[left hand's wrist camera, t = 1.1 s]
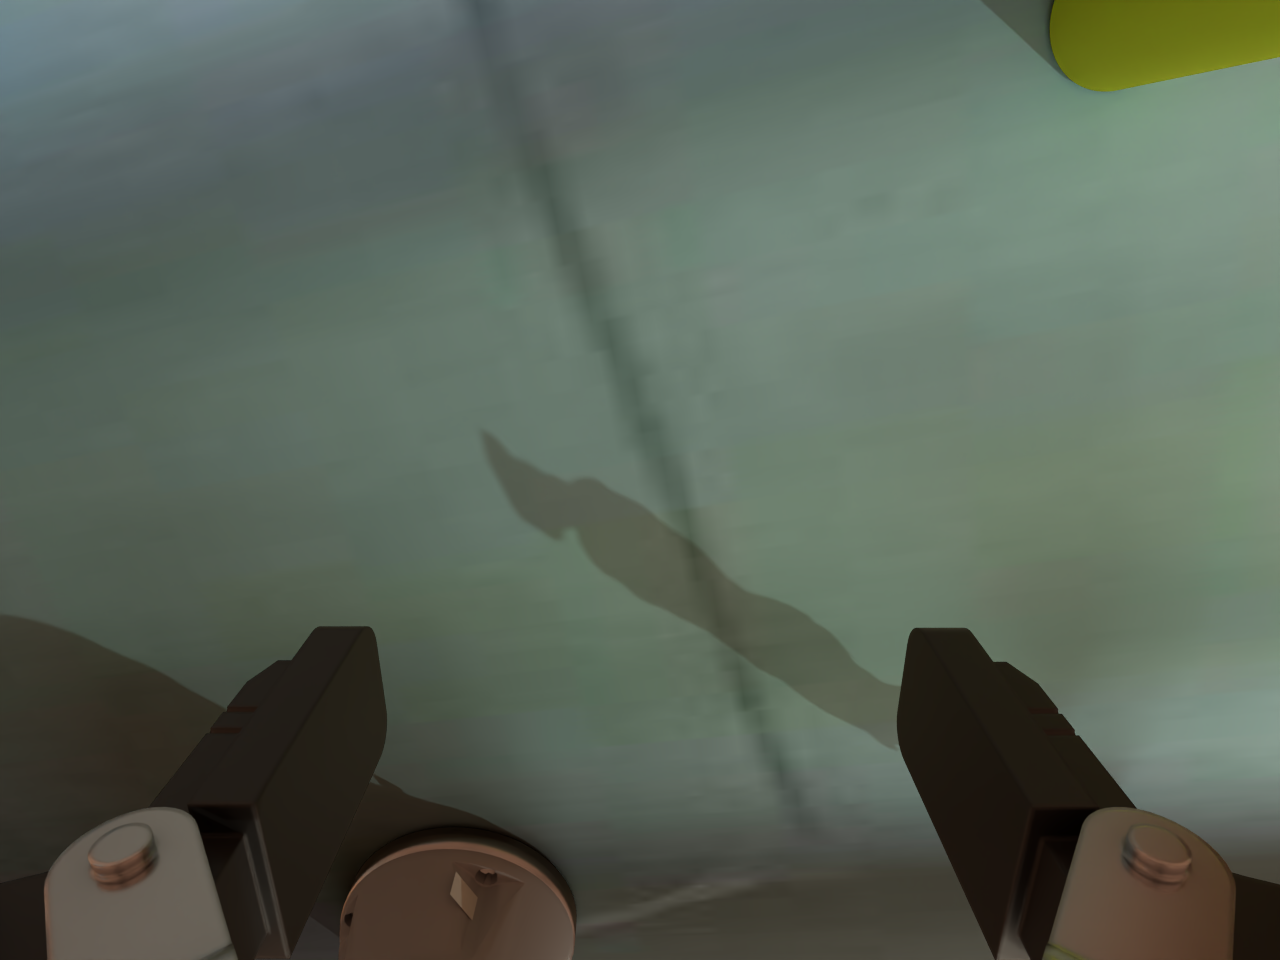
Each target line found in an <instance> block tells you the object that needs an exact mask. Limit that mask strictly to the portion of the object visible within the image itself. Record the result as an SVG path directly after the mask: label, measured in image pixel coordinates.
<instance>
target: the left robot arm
mask: <svg viewBox="0 0 1280 960" xmlns="http://www.w3.org/2000/svg"><path fill="white" fill-rule="evenodd" d="M386 730H387V712H386V704H385V697H384V691H383V684H382V677H381V670H380V663H379V656H378V649H377V642H376V637H375V634H374V632H373V630H372V628H370V627H367V626H320V627H317V628H315V629H314V630H313V632H312V633H311V634H310V636H309V637H308V638H307V640H306V641H305V642H304V644H303V645H302V647H301V648H300V649H299V651H298V652H297V654H296V655H295V656H294V658H293V659H292V660H278V661H276V662H275V663H274V664H272V665H271V666H269V667H268V668H266V669H265V670H263V671H262V672H261V673H259V674H258V675H256V676H255V677H253V678H252V679H250V680H249V681H248V682H247V683H246V684H245V685H244V686H243V688H242V689H241V690H240V691H239V693H238V694H237V695H236V697H235V698H234V699H233V700H232V702H231V703H230V704H229V705H228V707H227V712H223V713H222V714H221V716H220V717H219V718H218V719H217V721H216V722H215V723H214V725H213V726H212V727H211V732H210V734H206V735H205V736H204V737H203V739H202V740H201V741H200V742H199V744H198V745H197V746H196V748H195V749H194V750H193V751H192V753H191V754H190V755H189V756H188V758H187V759H186V760H185V762H184V763H183V764H182V765H181V767H180V768H179V769H178V771H177V772H176V773H175V774H174V776H173V777H172V778H171V779H170V781H169V782H168V783H167V785H166V786H165V787H164V788H163V790H162V791H161V792H160V793H159V795H158V796H157V797H156V799H155V800H154V801H153V802H152V804H151V805H150V806H149V807H148V808H146V809H140V810H136V811H132V812H129V813H126V814H123V815H120V816H117V817H115V818H113V819H111V820H108V821H106V822H104V823H102V824H101V825H99V826H97V827H95V828H93V829H92V830H90V831H89V832H87V833H86V834H84V835H83V836H81V837H80V838H79V839H77V840H76V841H75V842H74V843H72V844H71V845H70V846H69V847H68V848H67V849H66V850H65V851H64V852H63V853H62V854H61V855H60V856H59V857H58V859H57V860H56V861H55V862H54V864H53V865H52V867H51V869H50V870H49V871H48V872H45V873H41V874H37V875H33V876H29V877H24V878H20V879H16V880H12V881H8V882H4V883H0V960H254V959H290V957H291V955H292V953H293V950H294V948H295V946H296V944H297V942H298V939H299V937H300V935H301V933H302V930H303V928H304V926H305V924H306V922H307V919H308V917H309V915H310V913H311V910H312V908H313V906H314V904H315V902H316V899H317V897H318V895H319V893H320V890H321V888H322V886H323V884H324V882H325V879H326V877H327V875H328V873H329V870H330V868H331V866H332V864H333V862H334V859H335V857H336V855H337V853H338V850H339V848H340V846H341V844H342V842H343V839H344V837H345V835H346V833H347V830H348V828H349V826H350V824H351V822H352V819H353V817H354V815H355V813H356V810H357V808H358V806H359V804H360V802H361V799H362V797H363V795H364V793H365V790H366V788H367V786H368V784H369V782H370V779H371V777H372V775H373V773H374V770H375V768H376V766H377V764H378V762H379V759H380V757H381V754H382V751H383V748H384V744H385V738H386ZM897 733H898V741H899V746H900V750H901V753H902V756H903V759H904V761H905V763H906V765H907V768H908V770H909V772H910V774H911V776H912V779H913V781H914V783H915V785H916V787H917V790H918V792H919V794H920V796H921V798H922V801H923V803H924V805H925V807H926V809H927V812H928V814H929V816H930V818H931V820H932V823H933V825H934V827H935V829H936V831H937V834H938V836H939V838H940V840H941V842H942V844H943V847H944V849H945V851H946V853H947V855H948V858H949V860H950V862H951V864H952V866H953V869H954V871H955V873H956V875H957V877H958V880H959V882H960V884H961V886H962V888H963V891H964V893H965V895H966V897H967V899H968V902H969V904H970V906H971V908H972V910H973V913H974V915H975V917H976V919H977V921H978V923H979V926H980V928H981V930H982V932H983V934H984V937H985V939H986V941H987V943H988V945H989V948H990V950H991V952H992V954H993V956H994V959H995V960H1280V885H1279V884H1275V883H1271V882H1267V881H1263V880H1259V879H1254V878H1250V877H1246V876H1242V875H1239V874H1235V873H1232V872H1231V870H1230V869H1229V867H1228V865H1227V864H1226V862H1225V861H1224V860H1223V859H1222V857H1221V856H1220V855H1219V854H1218V853H1217V852H1216V851H1215V850H1214V849H1213V848H1212V847H1211V846H1210V845H1209V844H1208V843H1206V842H1205V841H1204V840H1203V839H1201V838H1200V837H1199V836H1197V835H1196V834H1194V833H1193V832H1191V831H1190V830H1188V829H1187V828H1185V827H1183V826H1181V825H1179V824H1178V823H1176V822H1174V821H1172V820H1169V819H1167V818H1165V817H1163V816H1160V815H1157V814H1154V813H1151V812H1148V811H1144V810H1140V809H1137V808H1136V807H1135V806H1134V804H1133V803H1132V802H1131V801H1130V799H1129V798H1128V797H1127V796H1126V794H1125V793H1124V792H1123V790H1122V789H1121V788H1120V787H1119V785H1118V784H1117V783H1116V782H1115V780H1114V779H1113V778H1112V777H1111V775H1110V774H1109V773H1108V772H1107V770H1106V769H1105V768H1104V766H1103V765H1102V764H1101V763H1100V761H1099V760H1098V759H1097V758H1096V756H1095V755H1094V754H1093V753H1092V751H1091V750H1090V749H1089V748H1088V746H1087V745H1086V744H1085V742H1084V741H1083V740H1082V739H1081V737H1080V736H1076V735H1075V730H1074V729H1073V727H1072V726H1071V725H1070V723H1069V722H1068V721H1067V720H1066V718H1065V717H1064V716H1063V715H1062V714H1059V713H1058V708H1057V707H1056V706H1055V705H1054V703H1053V702H1052V701H1051V699H1050V698H1049V697H1048V696H1047V694H1046V693H1045V692H1044V691H1043V689H1042V688H1041V687H1040V686H1039V684H1038V683H1036V682H1035V681H1033V680H1032V679H1031V678H1029V677H1028V676H1026V675H1025V674H1023V673H1022V672H1020V671H1019V670H1018V669H1016V668H1015V667H1013V666H1012V665H1010V664H1009V663H1007V662H993V661H992V660H991V658H990V657H989V655H988V654H987V653H986V651H985V650H984V649H983V647H982V646H981V645H980V643H979V642H978V640H977V639H976V638H975V636H974V635H973V634H972V632H971V631H970V630H968V629H967V628H914V629H913V630H912V631H911V633H910V635H909V639H908V644H907V650H906V657H905V664H904V671H903V678H902V684H901V691H900V698H899V705H898V712H897Z"/></svg>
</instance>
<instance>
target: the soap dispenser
mask: <svg viewBox="0 0 1280 960" xmlns="http://www.w3.org/2000/svg"><path fill="white" fill-rule="evenodd" d="M1050 41H1051V47H1052V51H1053V54H1054V57H1055V59H1056V61H1057V63H1058V65H1059V67H1060V68H1061V70H1062V71H1063V72H1064V73H1065V75H1066V76H1067V77H1068V78H1070V79H1071V80H1072V81H1073V82H1075V83H1076V84H1078V85H1080V86H1082V87H1084V88H1087V89H1090V90H1094V91H1115V90H1120V89H1125V88H1130V87H1135V86H1140V85H1145V84H1150V83H1155V82H1160V81H1164V80H1169V79H1174V78H1179V77H1184V76H1189V75H1194V74H1199V73H1204V72H1208V71H1213V70H1218V69H1223V68H1228V67H1233V66H1238V65H1243V64H1248V63H1252V62H1257V61H1262V60H1267V59H1272V58H1277V57H1280V0H1055V1H1054V4H1053V8H1052V13H1051V19H1050Z"/></svg>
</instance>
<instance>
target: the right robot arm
mask: <svg viewBox="0 0 1280 960" xmlns="http://www.w3.org/2000/svg"><path fill="white" fill-rule="evenodd" d="M576 919H577V914H576V906H575V902H574V898H573V895H572V893H571V890H570V888H569V886H568V884H567V883H566V881H565V879H564V878H563V877H562V875H561V874H560V873H559V871H558V870H557V869H556V868H555V867H554V866H553V865H552V864H551V863H550V862H549V861H548V860H547V859H546V858H544V857H543V856H542V855H540V854H539V853H538V852H536V851H535V850H533V849H532V848H530V847H528V846H526V845H525V844H523V843H521V842H519V841H516V840H514V839H512V838H510V837H507V836H504V835H501V834H498V833H494V832H490V831H486V830H480V829H474V828H464V827H444V828H434V829H427V830H423V831H418V832H415V833H411V834H408V835H405V836H403V837H400V838H398V839H396V840H394V841H392V842H390V843H388V844H387V845H385V846H383V847H382V848H380V849H379V850H378V851H377V852H375V853H374V854H373V855H372V856H371V857H370V858H369V859H368V860H367V861H366V862H365V863H364V865H363V866H362V867H361V868H360V870H359V872H358V874H357V875H356V877H355V880H354V882H353V884H352V887H351V889H350V891H349V894H348V896H347V899H346V901H345V904H344V906H343V910H342V913H341V921H340V947H339V958H338V960H571V959H572V956H573V952H574V945H575V933H576Z"/></svg>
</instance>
